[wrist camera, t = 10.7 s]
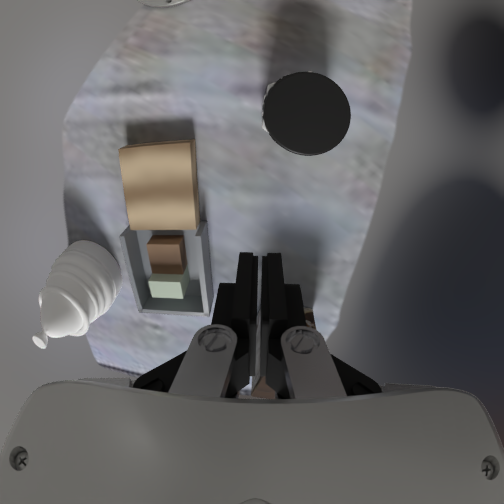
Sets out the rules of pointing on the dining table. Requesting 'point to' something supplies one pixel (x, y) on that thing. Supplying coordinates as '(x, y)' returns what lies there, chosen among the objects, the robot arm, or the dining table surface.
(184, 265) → the tile near
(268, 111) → the jar
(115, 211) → the dining table surface
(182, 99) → the dining table surface
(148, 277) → the tray
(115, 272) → the honey pot
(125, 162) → the board
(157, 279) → the tile far
